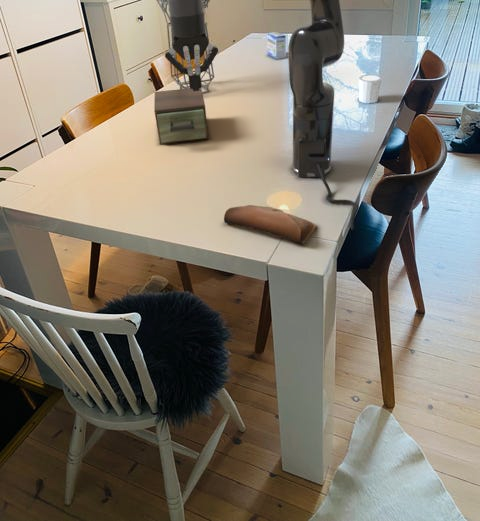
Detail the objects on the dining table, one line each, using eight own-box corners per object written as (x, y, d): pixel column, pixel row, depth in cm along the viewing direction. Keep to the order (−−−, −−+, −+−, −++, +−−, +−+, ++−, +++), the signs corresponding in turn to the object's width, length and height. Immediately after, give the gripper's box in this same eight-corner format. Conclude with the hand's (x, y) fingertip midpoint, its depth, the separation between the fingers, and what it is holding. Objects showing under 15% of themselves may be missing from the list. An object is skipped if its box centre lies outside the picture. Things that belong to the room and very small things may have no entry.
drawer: (207, 144, 138) (204, 116, 133) (161, 149, 137) (157, 121, 132) (202, 118, 153) (199, 93, 148) (161, 123, 152) (157, 97, 147)
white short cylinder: (354, 102, 159) (356, 80, 155) (360, 95, 164) (362, 73, 160) (376, 105, 156) (378, 82, 152) (381, 97, 161) (384, 75, 157)
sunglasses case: (318, 223, 104) (312, 207, 98) (306, 253, 102) (299, 238, 96) (243, 204, 112) (233, 188, 106) (230, 232, 110) (219, 217, 104)
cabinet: (208, 139, 143) (205, 105, 137) (159, 144, 142) (154, 110, 136) (204, 118, 156) (201, 87, 150) (159, 123, 155) (154, 91, 149)
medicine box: (267, 55, 208) (266, 32, 203) (276, 53, 209) (276, 31, 204) (276, 59, 202) (275, 36, 197) (286, 57, 203) (285, 35, 198)
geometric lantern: (179, 101, 170) (164, -16, 149) (167, 88, 181) (151, -22, 160) (223, 92, 174) (214, -23, 153) (208, 80, 186) (197, -28, 165)
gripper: (156, 17, 108) (169, 98, 118) (217, 11, 109) (225, 91, 119) (156, 11, 114) (168, 88, 124) (214, 5, 115) (221, 82, 125)
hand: (196, 90), depth 122 cm, fingers closed
